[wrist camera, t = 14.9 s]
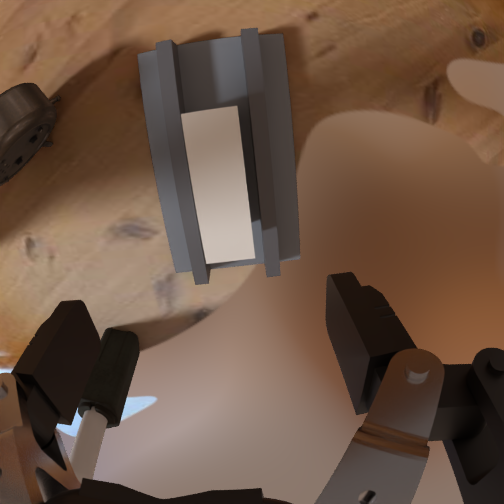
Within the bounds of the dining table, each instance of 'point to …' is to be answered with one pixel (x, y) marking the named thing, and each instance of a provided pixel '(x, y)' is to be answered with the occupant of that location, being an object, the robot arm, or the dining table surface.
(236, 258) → the white rectangular block
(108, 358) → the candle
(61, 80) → the dining table surface
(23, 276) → the dining table surface
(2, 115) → the alarm clock
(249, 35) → the door track
